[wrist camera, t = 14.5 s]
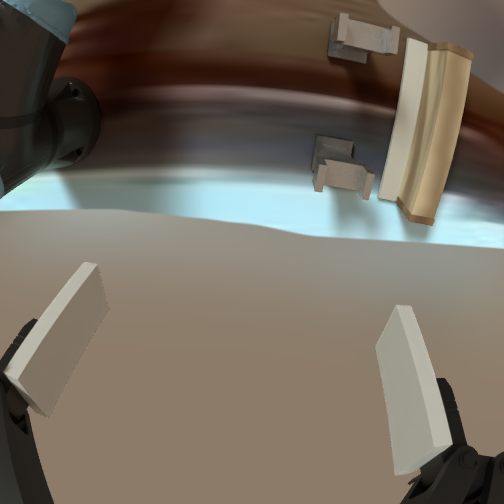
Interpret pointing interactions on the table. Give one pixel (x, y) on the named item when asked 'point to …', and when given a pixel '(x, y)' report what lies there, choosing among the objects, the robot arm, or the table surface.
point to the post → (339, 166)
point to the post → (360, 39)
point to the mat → (404, 119)
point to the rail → (435, 131)
